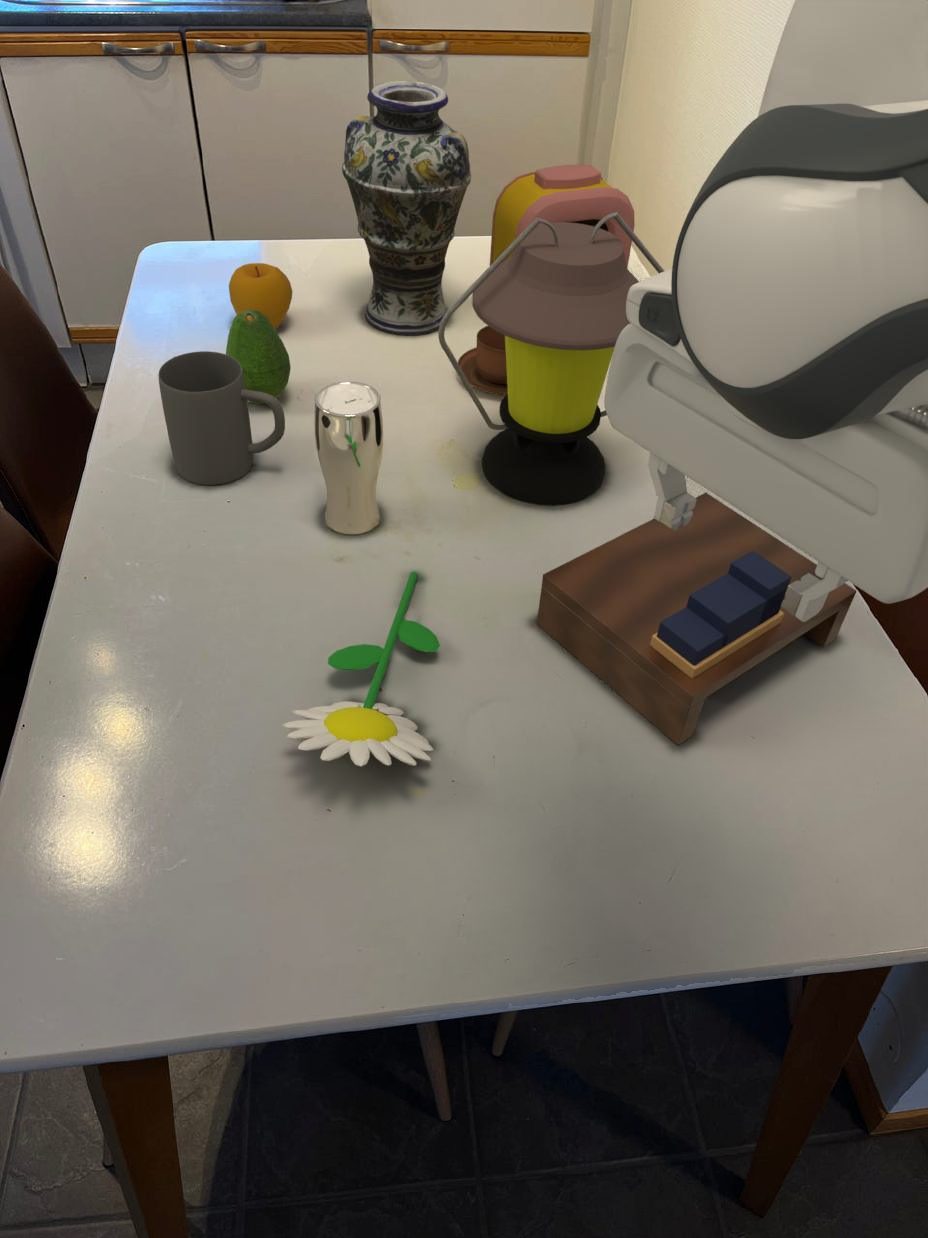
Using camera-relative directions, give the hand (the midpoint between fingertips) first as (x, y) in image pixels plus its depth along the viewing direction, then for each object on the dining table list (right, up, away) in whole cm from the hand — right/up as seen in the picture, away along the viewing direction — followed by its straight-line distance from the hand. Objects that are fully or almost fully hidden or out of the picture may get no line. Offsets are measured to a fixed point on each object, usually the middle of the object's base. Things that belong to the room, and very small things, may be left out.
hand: (732, 564), depth 55 cm
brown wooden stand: (+7, -4, +41) cm, 42 cm away
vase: (-24, +41, +87) cm, 99 cm away
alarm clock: (-2, +45, +92) cm, 102 cm away
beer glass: (-28, +8, +52) cm, 59 cm away
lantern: (-6, +15, +60) cm, 62 cm away
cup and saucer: (-10, +29, +75) cm, 81 cm away
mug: (-42, +15, +58) cm, 73 cm away
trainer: (+7, -4, +32) cm, 33 cm away
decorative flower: (-23, -9, +35) cm, 42 cm away
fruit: (-41, +25, +69) cm, 84 cm away
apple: (-44, +38, +83) cm, 101 cm away
